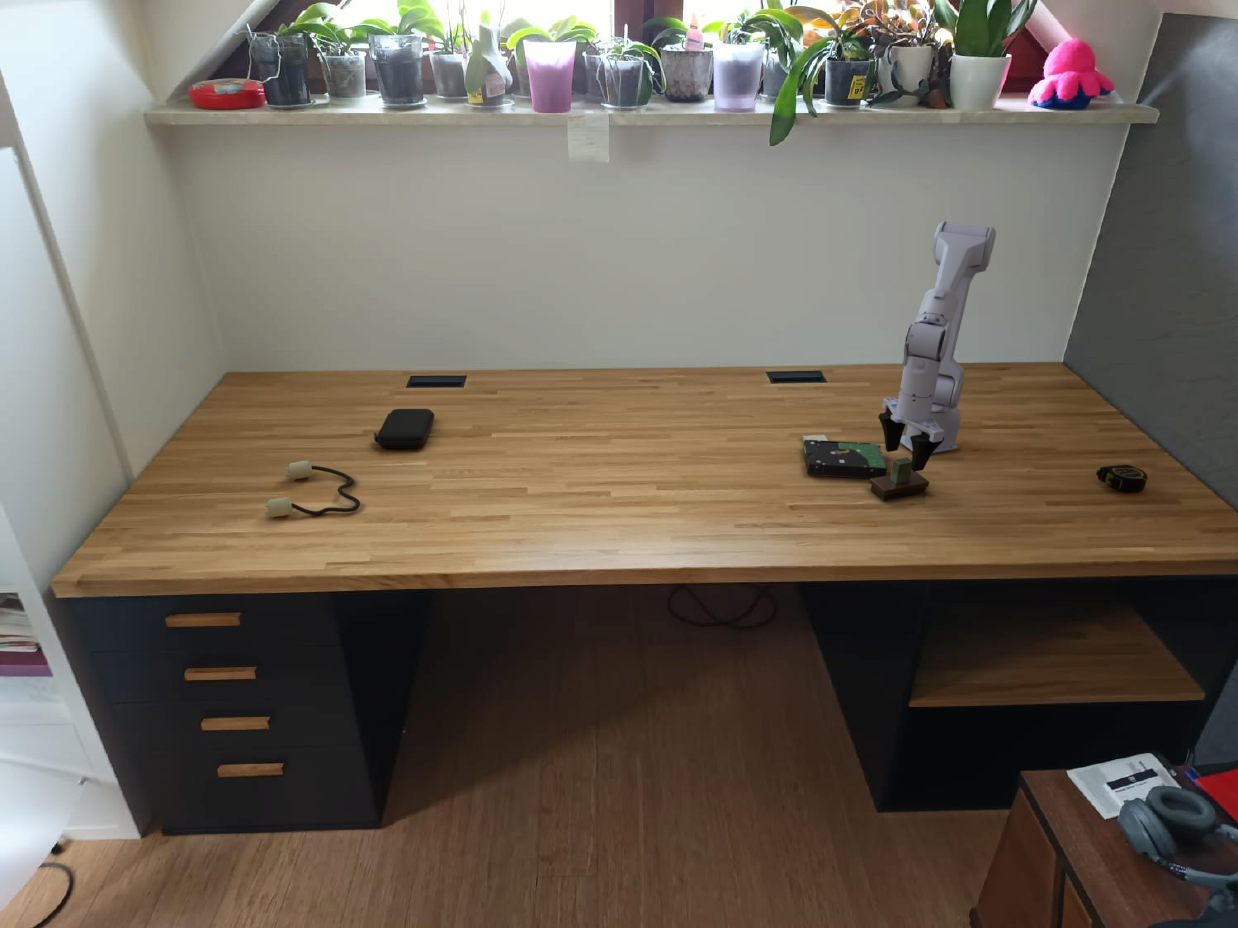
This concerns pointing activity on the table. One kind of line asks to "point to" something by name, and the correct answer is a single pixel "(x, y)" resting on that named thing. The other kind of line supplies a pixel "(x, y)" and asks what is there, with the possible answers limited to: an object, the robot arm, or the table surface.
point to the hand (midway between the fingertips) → (904, 460)
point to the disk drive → (844, 459)
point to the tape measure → (1123, 478)
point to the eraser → (815, 437)
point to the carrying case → (405, 428)
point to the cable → (301, 471)
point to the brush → (899, 482)
